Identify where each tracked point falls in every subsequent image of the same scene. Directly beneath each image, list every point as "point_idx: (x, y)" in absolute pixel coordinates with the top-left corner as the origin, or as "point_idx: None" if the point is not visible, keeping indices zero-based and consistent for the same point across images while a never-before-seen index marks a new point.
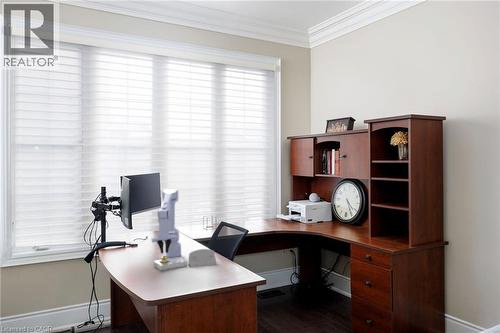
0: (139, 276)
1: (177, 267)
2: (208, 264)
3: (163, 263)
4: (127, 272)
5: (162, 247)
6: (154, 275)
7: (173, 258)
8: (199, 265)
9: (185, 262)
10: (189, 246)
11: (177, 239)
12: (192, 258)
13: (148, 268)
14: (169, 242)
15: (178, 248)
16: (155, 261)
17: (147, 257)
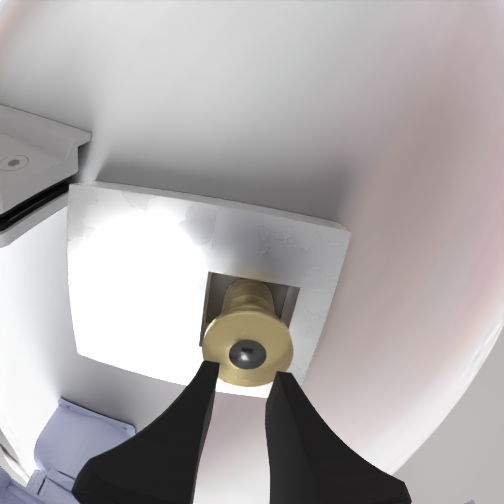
0: (481, 222)
1: (173, 191)
2: (4, 107)
3: (286, 279)
4: (460, 343)
5: (312, 434)
6: (426, 156)
7: (127, 349)
8: (38, 118)
9: (86, 183)
10: (24, 441)
11: (35, 479)
12: (22, 165)
13: (353, 345)
14: (144, 478)
15: (54, 437)
16: (297, 379)
17: (220, 482)
